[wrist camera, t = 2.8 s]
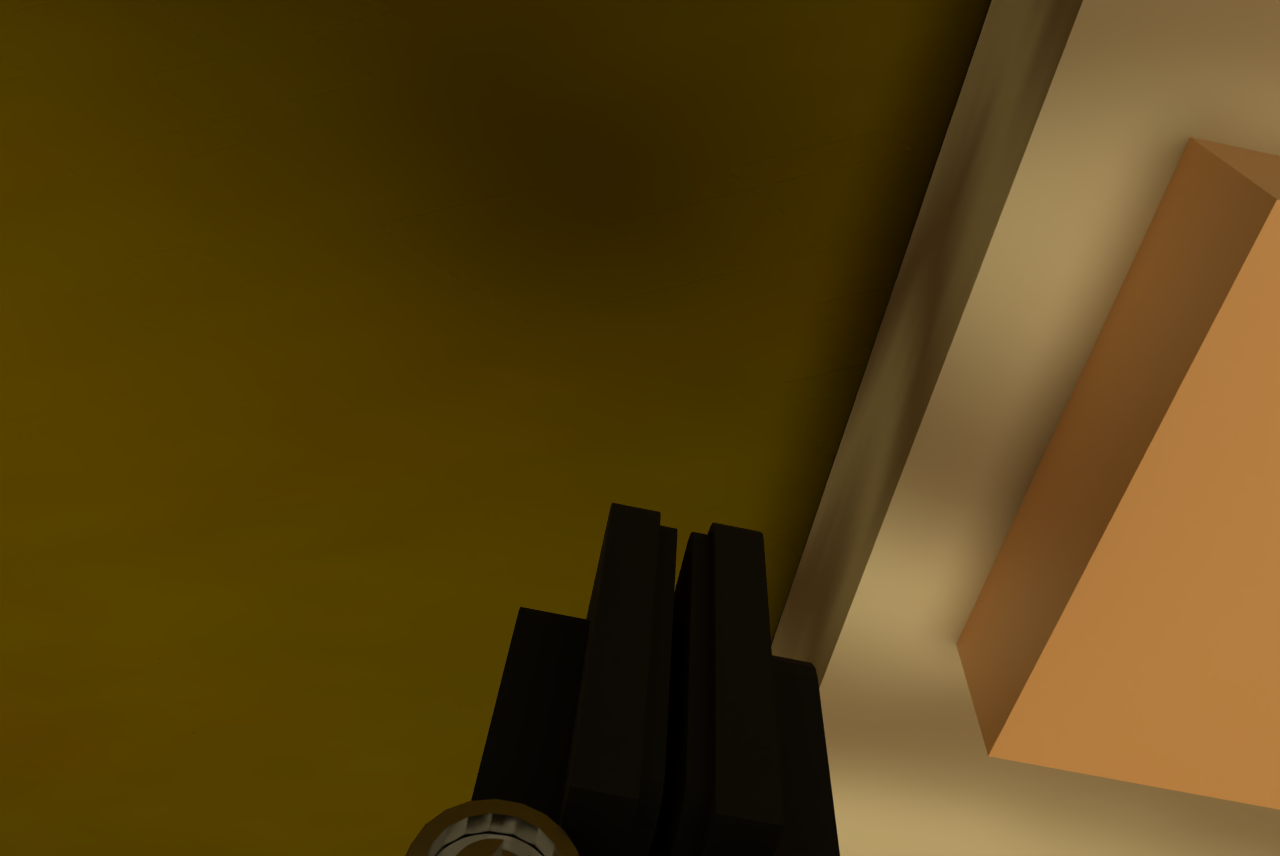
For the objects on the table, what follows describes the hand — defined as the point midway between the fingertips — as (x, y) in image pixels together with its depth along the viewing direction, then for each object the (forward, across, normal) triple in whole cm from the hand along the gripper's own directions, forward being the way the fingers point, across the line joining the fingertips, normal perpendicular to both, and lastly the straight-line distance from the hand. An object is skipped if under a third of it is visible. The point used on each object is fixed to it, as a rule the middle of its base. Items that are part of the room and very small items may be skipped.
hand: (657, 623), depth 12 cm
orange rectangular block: (+5, -9, -1) cm, 10 cm away
